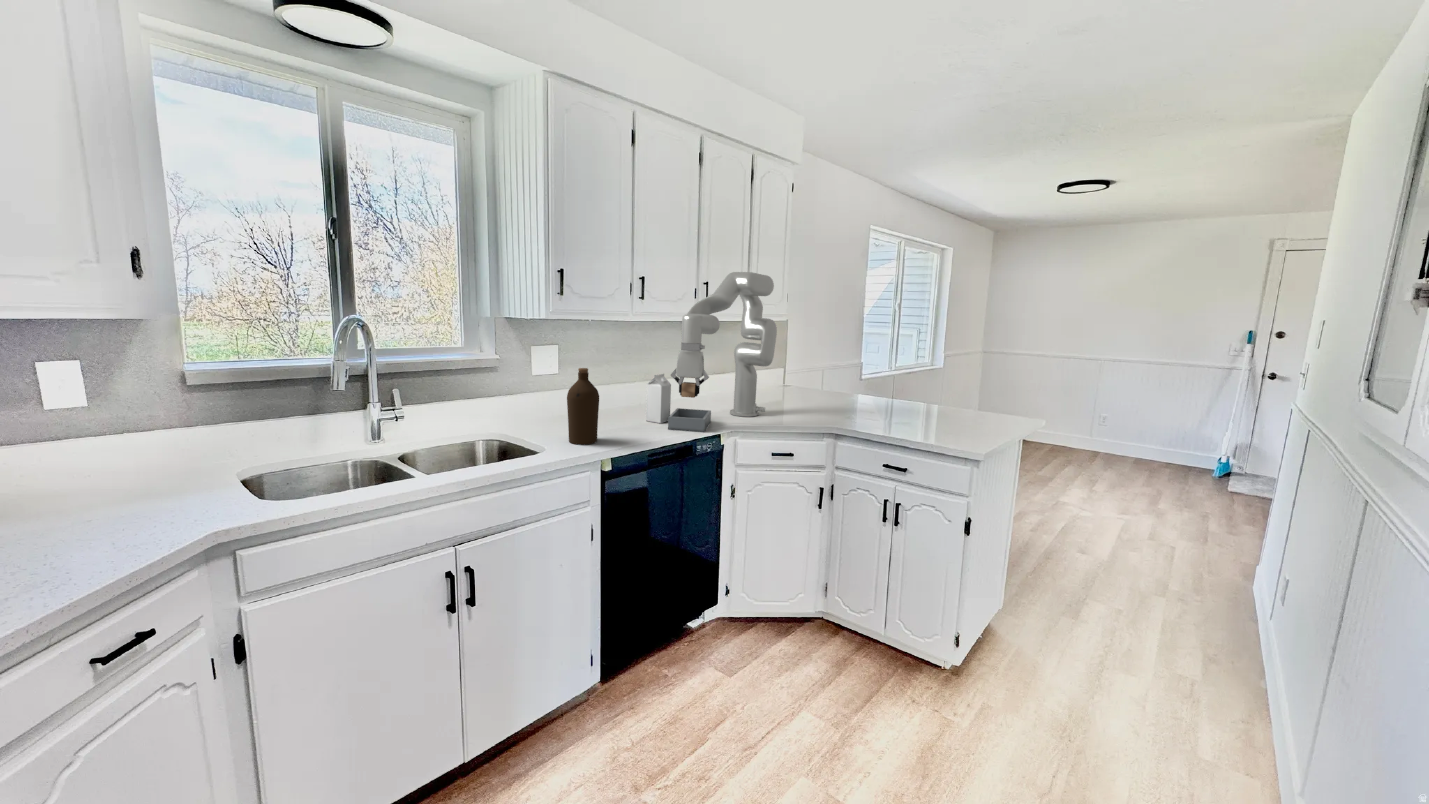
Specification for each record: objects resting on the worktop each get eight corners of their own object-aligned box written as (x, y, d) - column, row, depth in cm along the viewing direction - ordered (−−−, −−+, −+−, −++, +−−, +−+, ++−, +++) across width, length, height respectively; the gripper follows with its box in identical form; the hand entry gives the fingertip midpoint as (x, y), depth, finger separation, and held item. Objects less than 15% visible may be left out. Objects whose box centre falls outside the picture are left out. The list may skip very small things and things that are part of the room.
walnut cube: (696, 395, 222) (696, 382, 222) (694, 397, 218) (694, 384, 217) (683, 394, 223) (684, 381, 222) (681, 396, 218) (681, 383, 217)
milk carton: (645, 421, 232) (646, 374, 229) (655, 418, 238) (656, 372, 235) (660, 423, 229) (661, 376, 226) (670, 420, 235) (671, 374, 232)
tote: (710, 422, 235) (711, 410, 234) (704, 432, 218) (704, 419, 217) (676, 420, 237) (677, 408, 236) (667, 429, 219) (668, 416, 218)
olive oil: (602, 444, 194) (602, 370, 189) (569, 446, 189) (569, 370, 185) (595, 436, 203) (595, 366, 199) (564, 438, 199) (564, 366, 195)
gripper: (714, 348, 220) (712, 395, 223) (670, 345, 222) (669, 392, 225) (712, 349, 212) (709, 398, 216) (666, 347, 214) (665, 395, 218)
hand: (688, 394), depth 220 cm, fingers closed on walnut cube, 4 cm apart
